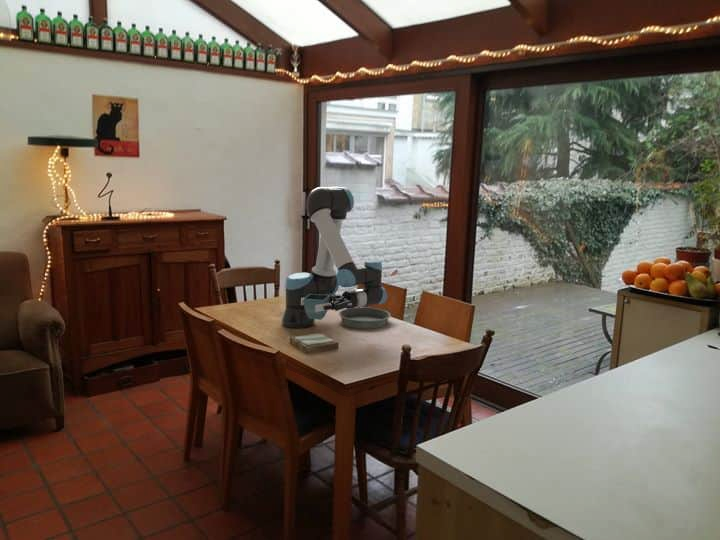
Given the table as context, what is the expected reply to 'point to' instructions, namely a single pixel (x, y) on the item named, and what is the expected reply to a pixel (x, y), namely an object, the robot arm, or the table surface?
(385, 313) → the cake pan
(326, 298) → the flower pot
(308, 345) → the stand
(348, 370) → the table surface
